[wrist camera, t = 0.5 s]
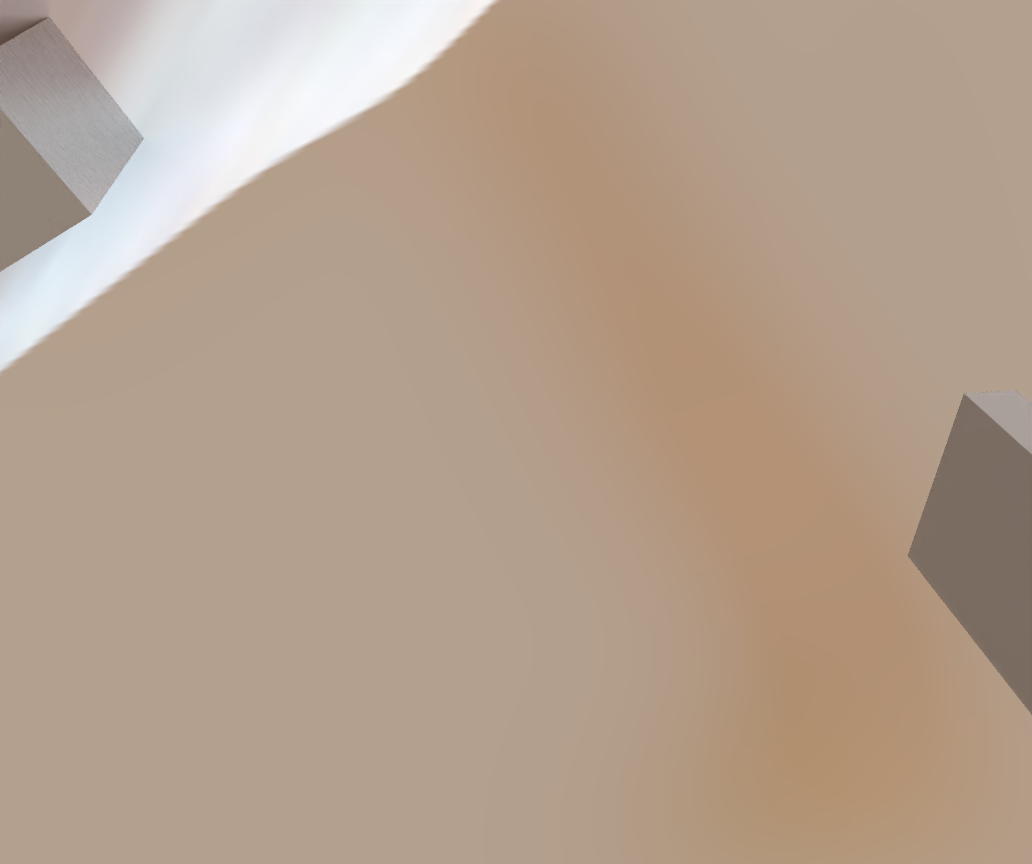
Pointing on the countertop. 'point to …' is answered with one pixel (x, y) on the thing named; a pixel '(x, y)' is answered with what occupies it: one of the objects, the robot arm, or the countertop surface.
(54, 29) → the plain grey rectangular box
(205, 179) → the countertop surface
